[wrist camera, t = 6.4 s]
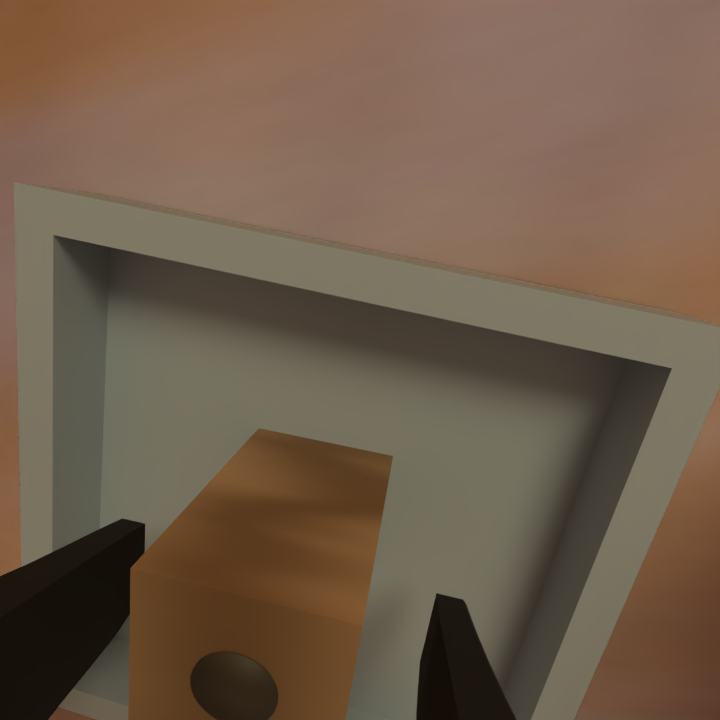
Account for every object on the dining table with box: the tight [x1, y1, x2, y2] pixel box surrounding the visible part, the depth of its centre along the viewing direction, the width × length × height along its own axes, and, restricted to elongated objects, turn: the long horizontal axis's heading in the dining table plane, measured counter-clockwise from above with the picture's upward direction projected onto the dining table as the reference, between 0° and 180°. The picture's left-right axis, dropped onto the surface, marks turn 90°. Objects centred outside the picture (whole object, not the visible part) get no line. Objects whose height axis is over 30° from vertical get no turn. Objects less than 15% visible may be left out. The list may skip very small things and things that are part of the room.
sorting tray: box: [14, 182, 720, 720], centre depth 13 cm, size 16×16×3 cm
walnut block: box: [128, 428, 393, 720], centre depth 11 cm, size 4×4×6 cm
